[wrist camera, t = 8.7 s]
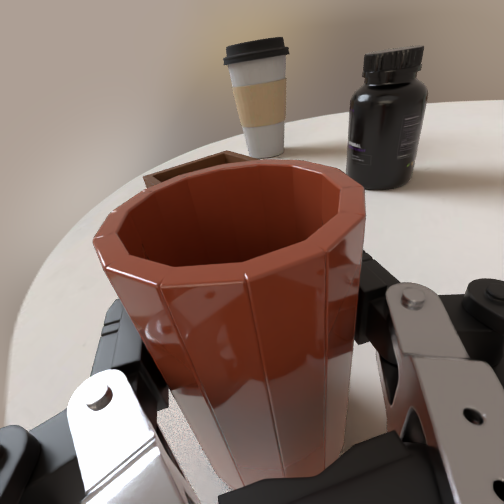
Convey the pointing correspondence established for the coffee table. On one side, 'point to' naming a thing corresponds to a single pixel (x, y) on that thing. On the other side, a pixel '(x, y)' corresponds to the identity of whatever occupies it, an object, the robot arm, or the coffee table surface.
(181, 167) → the tray
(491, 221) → the coffee table surface
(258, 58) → the coffee cup
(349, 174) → the supplement bottle
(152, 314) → the tumbler
